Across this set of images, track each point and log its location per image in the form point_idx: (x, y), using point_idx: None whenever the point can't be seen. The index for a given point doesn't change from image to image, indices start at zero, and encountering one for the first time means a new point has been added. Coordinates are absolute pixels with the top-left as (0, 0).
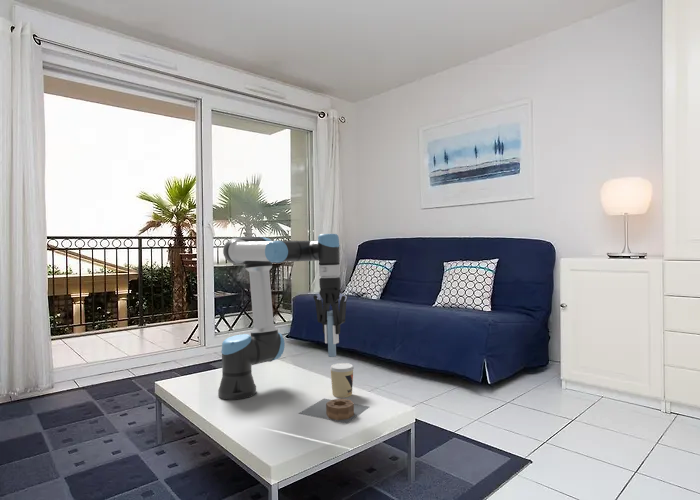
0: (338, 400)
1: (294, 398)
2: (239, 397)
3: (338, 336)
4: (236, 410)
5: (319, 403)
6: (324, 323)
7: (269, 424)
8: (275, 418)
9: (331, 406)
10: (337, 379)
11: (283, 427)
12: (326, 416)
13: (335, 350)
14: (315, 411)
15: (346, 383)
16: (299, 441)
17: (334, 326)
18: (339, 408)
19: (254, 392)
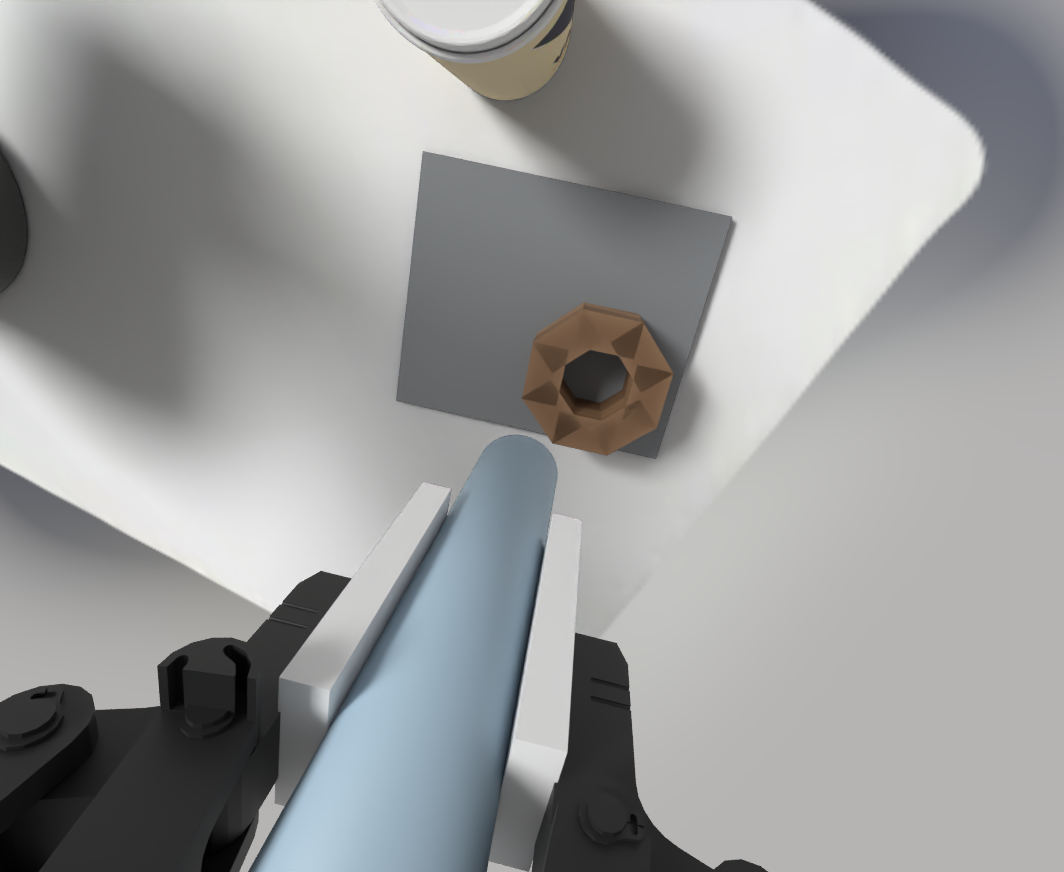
0: (574, 345)
1: (254, 177)
2: (4, 281)
3: (577, 577)
4: (116, 412)
5: (434, 244)
6: (253, 829)
7: (339, 511)
8: (326, 454)
9: (565, 437)
10: (476, 75)
11: None
12: None
13: (551, 509)
14: (462, 360)
15: (547, 56)
16: None
17: (532, 850)
18: (613, 451)
19: (5, 182)
